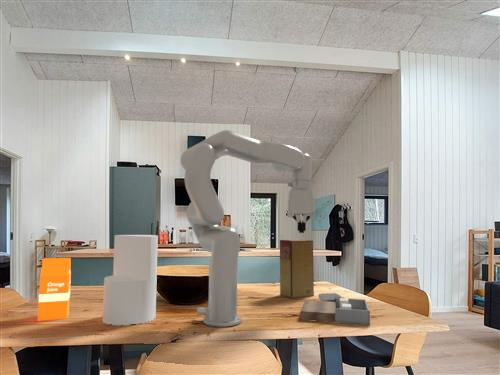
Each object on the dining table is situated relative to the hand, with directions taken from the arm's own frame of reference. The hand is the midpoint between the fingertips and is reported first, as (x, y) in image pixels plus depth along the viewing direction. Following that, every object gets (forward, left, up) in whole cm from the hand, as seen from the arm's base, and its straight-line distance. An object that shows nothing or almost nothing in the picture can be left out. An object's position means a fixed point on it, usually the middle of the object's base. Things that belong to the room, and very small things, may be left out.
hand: (301, 232), depth 144 cm
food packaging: (-5, +27, -29) cm, 40 cm away
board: (+7, -6, -29) cm, 30 cm away
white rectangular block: (+15, -11, -26) cm, 32 cm away
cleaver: (+12, +20, -30) cm, 38 cm away
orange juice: (-82, -33, -29) cm, 93 cm away
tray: (+18, -6, -29) cm, 35 cm away
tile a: (+14, -1, -26) cm, 30 cm away
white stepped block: (-56, -28, -29) cm, 69 cm away
